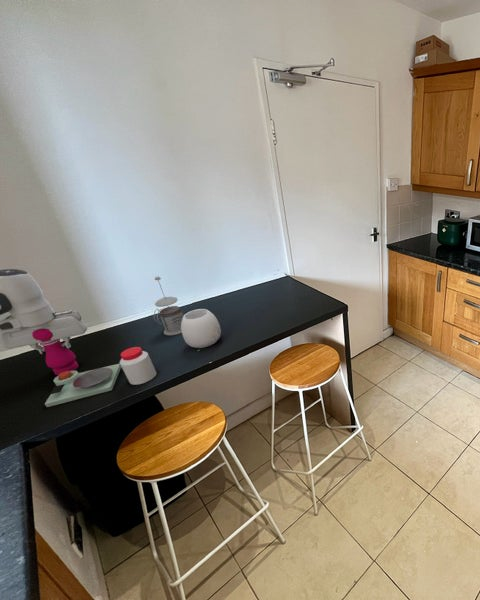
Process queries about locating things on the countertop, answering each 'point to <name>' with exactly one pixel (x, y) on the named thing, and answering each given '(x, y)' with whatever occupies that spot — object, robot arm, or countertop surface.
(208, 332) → the white round vase
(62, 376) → the button
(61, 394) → the scale
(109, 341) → the countertop surface
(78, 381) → the scale top
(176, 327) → the french press
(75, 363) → the pepper mill
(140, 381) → the pill bottle
